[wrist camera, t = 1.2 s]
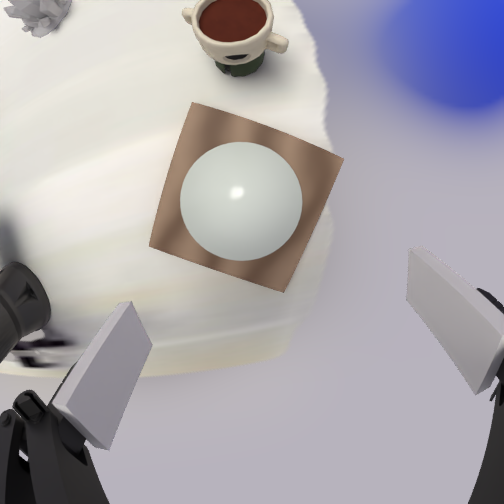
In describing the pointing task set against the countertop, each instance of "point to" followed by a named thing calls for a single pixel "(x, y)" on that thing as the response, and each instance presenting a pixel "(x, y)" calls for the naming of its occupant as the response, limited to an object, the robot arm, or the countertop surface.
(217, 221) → the saucer
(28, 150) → the countertop surface
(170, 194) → the stand
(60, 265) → the countertop surface
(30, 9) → the crystal
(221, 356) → the countertop surface
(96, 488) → the robot arm
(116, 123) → the countertop surface
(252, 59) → the character mug
